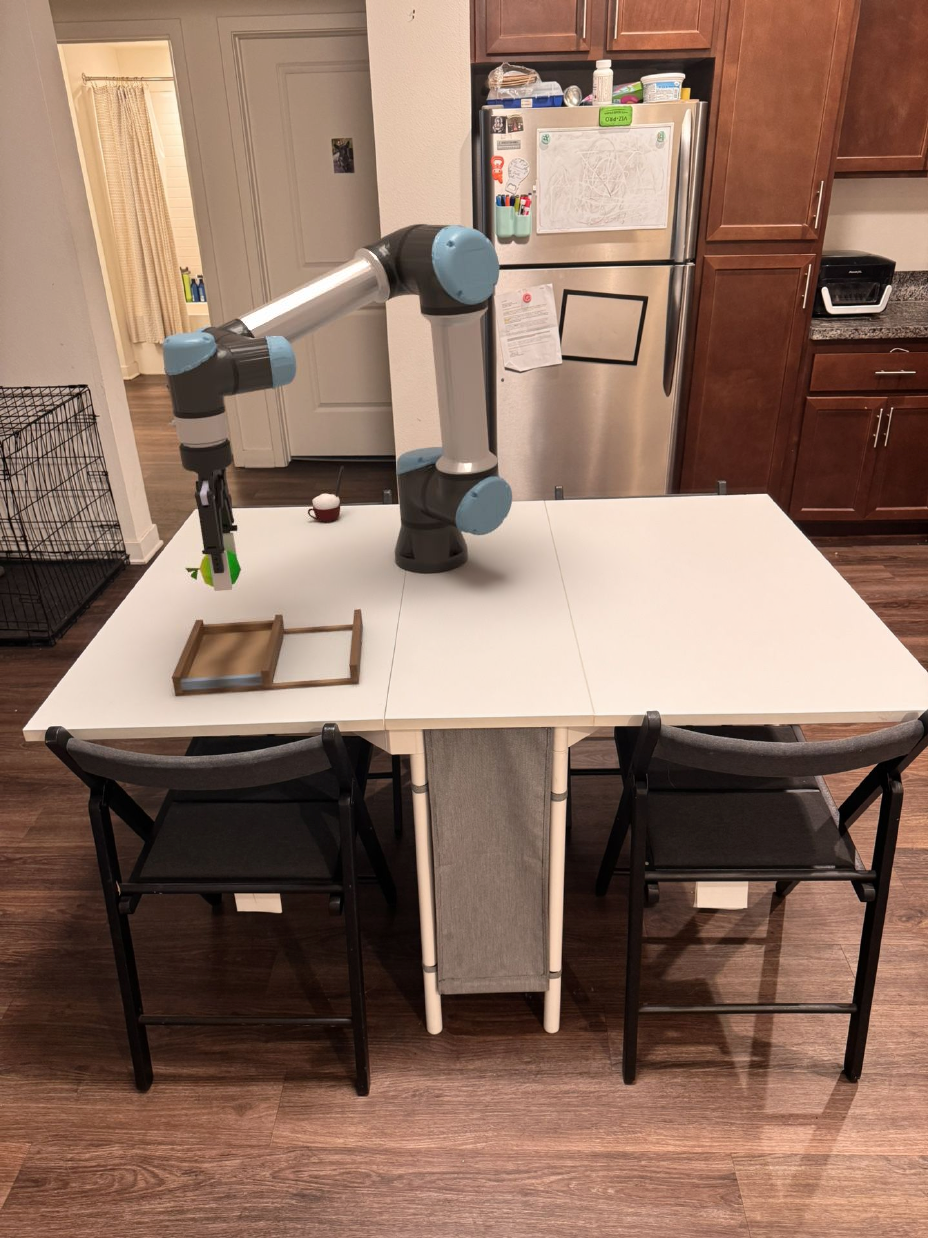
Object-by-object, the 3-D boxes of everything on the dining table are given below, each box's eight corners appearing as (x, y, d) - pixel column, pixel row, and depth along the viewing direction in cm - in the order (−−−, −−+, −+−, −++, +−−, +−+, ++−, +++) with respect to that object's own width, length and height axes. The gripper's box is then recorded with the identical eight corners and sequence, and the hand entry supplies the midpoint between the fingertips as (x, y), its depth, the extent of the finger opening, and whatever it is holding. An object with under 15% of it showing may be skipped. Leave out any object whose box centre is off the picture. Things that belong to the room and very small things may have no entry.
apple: (237, 541, 147) (181, 542, 147) (234, 577, 145) (177, 578, 145) (248, 561, 154) (193, 562, 154) (245, 596, 151) (190, 597, 151)
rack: (362, 626, 167) (361, 609, 165) (358, 683, 149) (356, 664, 147) (199, 637, 166) (196, 619, 164) (175, 696, 148) (171, 677, 146)
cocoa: (309, 526, 214) (300, 477, 208) (312, 515, 219) (303, 467, 213) (349, 523, 214) (342, 473, 208) (352, 512, 219) (344, 464, 213)
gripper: (191, 424, 148) (213, 557, 158) (165, 461, 131) (192, 607, 141) (238, 422, 149) (257, 555, 159) (218, 458, 131) (242, 604, 141)
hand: (226, 579), depth 150 cm, fingers closed on apple, 7 cm apart
